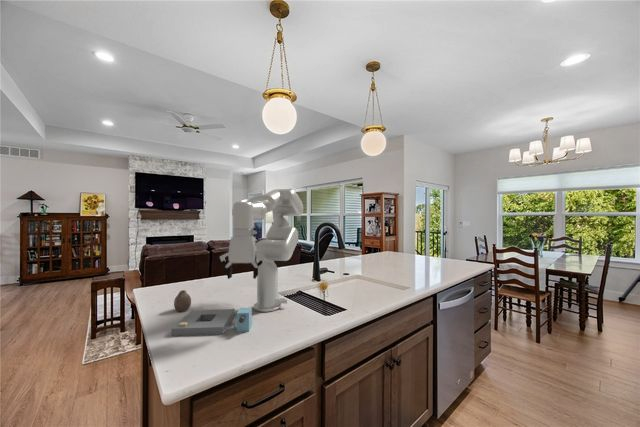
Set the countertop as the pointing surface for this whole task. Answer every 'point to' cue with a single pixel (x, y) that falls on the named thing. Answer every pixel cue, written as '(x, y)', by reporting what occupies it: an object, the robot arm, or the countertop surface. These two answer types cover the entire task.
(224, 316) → the socket plate
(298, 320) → the countertop surface
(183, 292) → the brown egg-shaped lump
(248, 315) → the plug
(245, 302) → the countertop surface
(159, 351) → the countertop surface
